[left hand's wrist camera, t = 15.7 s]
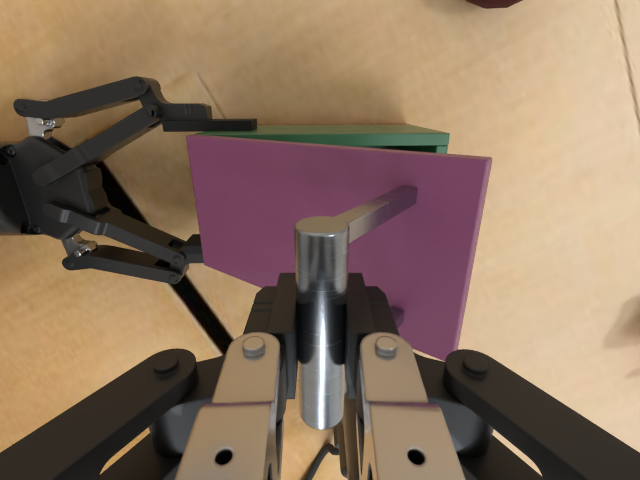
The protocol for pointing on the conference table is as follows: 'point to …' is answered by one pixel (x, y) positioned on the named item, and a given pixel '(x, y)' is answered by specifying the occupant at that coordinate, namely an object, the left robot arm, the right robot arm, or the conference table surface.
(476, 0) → the potato
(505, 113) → the conference table surface
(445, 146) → the chest
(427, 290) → the lid
